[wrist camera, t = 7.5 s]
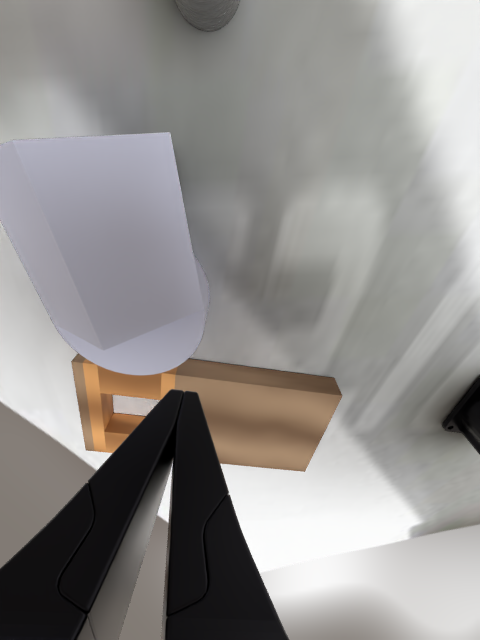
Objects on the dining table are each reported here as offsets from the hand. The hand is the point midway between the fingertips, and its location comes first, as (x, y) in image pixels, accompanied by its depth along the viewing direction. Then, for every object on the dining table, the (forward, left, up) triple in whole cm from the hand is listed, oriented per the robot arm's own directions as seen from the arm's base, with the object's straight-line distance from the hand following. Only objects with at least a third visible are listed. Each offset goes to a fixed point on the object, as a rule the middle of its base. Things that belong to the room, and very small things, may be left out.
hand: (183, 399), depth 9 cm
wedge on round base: (0, +5, -12) cm, 13 cm away
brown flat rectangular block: (-12, -1, -11) cm, 17 cm away
